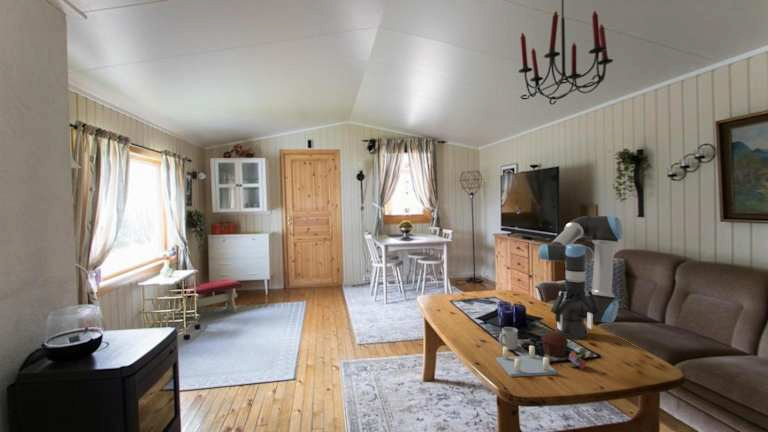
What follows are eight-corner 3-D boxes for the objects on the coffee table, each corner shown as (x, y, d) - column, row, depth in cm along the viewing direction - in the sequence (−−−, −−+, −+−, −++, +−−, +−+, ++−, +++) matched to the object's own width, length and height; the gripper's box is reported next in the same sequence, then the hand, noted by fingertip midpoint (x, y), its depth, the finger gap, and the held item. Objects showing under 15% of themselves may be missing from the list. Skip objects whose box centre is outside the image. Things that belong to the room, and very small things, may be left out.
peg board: (538, 357, 167) (538, 344, 167) (557, 374, 151) (557, 359, 151) (495, 359, 166) (495, 346, 166) (510, 376, 150) (510, 362, 150)
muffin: (554, 347, 179) (554, 327, 179) (573, 355, 169) (573, 334, 169) (535, 351, 175) (535, 330, 175) (554, 360, 165) (554, 338, 164)
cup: (520, 348, 178) (520, 330, 178) (504, 352, 174) (504, 333, 174) (510, 343, 185) (510, 326, 184) (494, 346, 181) (494, 328, 181)
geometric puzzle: (594, 365, 154) (582, 346, 158) (585, 369, 151) (574, 350, 155) (580, 370, 159) (570, 352, 163) (571, 374, 156) (561, 355, 160)
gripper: (597, 277, 161) (596, 324, 161) (542, 279, 159) (542, 326, 160) (608, 281, 153) (608, 330, 154) (551, 282, 152) (551, 332, 152)
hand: (574, 328), depth 157 cm, fingers open, 13 cm apart
